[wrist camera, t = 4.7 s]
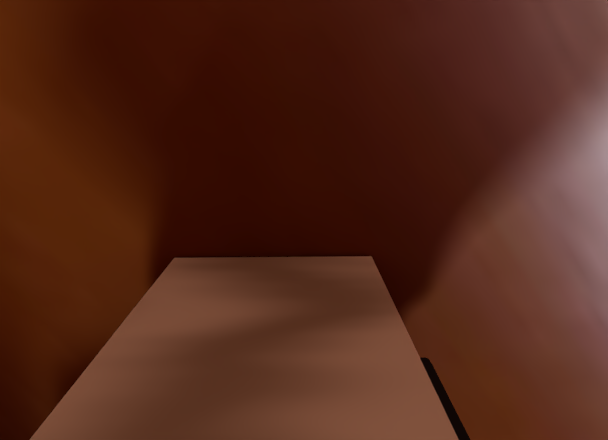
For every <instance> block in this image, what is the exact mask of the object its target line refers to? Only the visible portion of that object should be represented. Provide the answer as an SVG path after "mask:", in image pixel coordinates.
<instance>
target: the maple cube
mask: <svg viewBox="0 0 608 440" xmlns="http://www.w3.org/2000/svg"><path fill="white" fill-rule="evenodd" d="M30 440H459V439H458V437H457V435H456V433H455V431H454V429H453V427H452V425H451V423H450V420H449V418H448V416H447V414H446V412H445V410H444V408H443V406H442V404H441V401H440V399H439V397H438V395H437V393H436V391H435V389H434V387H433V385H432V382H431V380H430V378H429V376H428V374H427V372H426V370H425V368H424V366H423V364H422V361H421V359H420V357H419V355H418V353H417V351H416V349H415V347H414V345H413V342H412V340H411V338H410V336H409V334H408V332H407V330H406V328H405V326H404V323H403V321H402V319H401V317H400V315H399V313H398V311H397V309H396V307H395V305H394V302H393V300H392V298H391V296H390V294H389V292H388V290H387V288H386V286H385V283H384V281H383V279H382V277H381V275H380V273H379V271H378V269H377V267H376V265H375V262H374V260H373V258H372V256H337V257H205V258H174V259H173V260H172V261H171V263H170V264H169V265H168V266H167V268H166V269H165V270H164V271H163V273H162V274H161V275H160V276H159V278H158V279H157V280H156V281H155V283H154V284H153V285H152V286H151V288H150V289H149V290H148V291H147V293H146V294H145V295H144V296H143V298H142V299H141V300H140V301H139V303H138V304H137V305H136V306H135V308H134V309H133V310H132V312H131V313H130V314H129V315H128V317H127V318H126V319H125V320H124V322H123V323H122V324H121V325H120V327H119V328H118V329H117V330H116V332H115V333H114V334H113V335H112V337H111V338H110V339H109V340H108V342H107V343H106V344H105V345H104V347H103V348H102V349H101V350H100V352H99V353H98V354H97V356H96V357H95V358H94V359H93V361H92V362H91V363H90V364H89V366H88V367H87V368H86V369H85V371H84V372H83V373H82V374H81V376H80V377H79V378H78V379H77V381H76V382H75V383H74V384H73V386H72V387H71V388H70V389H69V391H68V392H67V393H66V394H65V396H64V397H63V398H62V399H61V401H60V402H59V403H58V405H57V406H56V407H55V408H54V410H53V411H52V412H51V413H50V415H49V416H48V417H47V418H46V420H45V421H44V422H43V423H42V425H41V426H40V427H39V428H38V430H37V431H36V432H35V433H34V435H33V436H32V437H31V438H30Z"/></svg>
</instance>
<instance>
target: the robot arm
mask: <svg viewBox="0 0 608 440" xmlns="http://www.w3.org/2000/svg"><path fill="white" fill-rule="evenodd" d="M420 359H421V361H422V364H423V366H424V368H425V370H426V372H427V374H428V376H429V378H430V380H431V382H432V385H433V387H434V389H435V391H436V393H437V395H438V397H439V399H440V401H441V404H442V406H443V408H444V410H445V412H446V414H447V416H448V418H449V420H450V423H451V425H452V427H453V429H454V431H455V433H456V435H457V437H458V439H459V440H470V438H469V436H468V434H467V432H466V430H465V429H464V427H463V425H462V423H461V421H460V419H459V417H458V415H457V413H456V411H455V409H454V407H453V405H452V403H451V401H450V399H449V397H448V395H447V393H446V391H445V389H444V387H443V385H442V383H441V381H440V379H439V377H438V375H437V373H436V371H435V369H434V367H433V365H432V364H431V362H430V360H429V359H427V358H420Z"/></svg>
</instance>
